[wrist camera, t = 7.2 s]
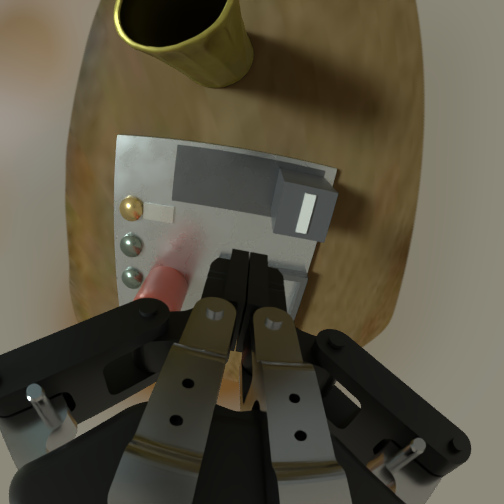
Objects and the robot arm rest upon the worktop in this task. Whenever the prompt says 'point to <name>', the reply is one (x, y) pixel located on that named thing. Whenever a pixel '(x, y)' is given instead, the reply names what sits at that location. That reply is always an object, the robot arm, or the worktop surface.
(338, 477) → the robot arm
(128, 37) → the vase
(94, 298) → the worktop surface
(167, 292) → the red tapered cylinder
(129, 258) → the panel
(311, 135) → the worktop surface
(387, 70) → the worktop surface
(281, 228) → the breaker
